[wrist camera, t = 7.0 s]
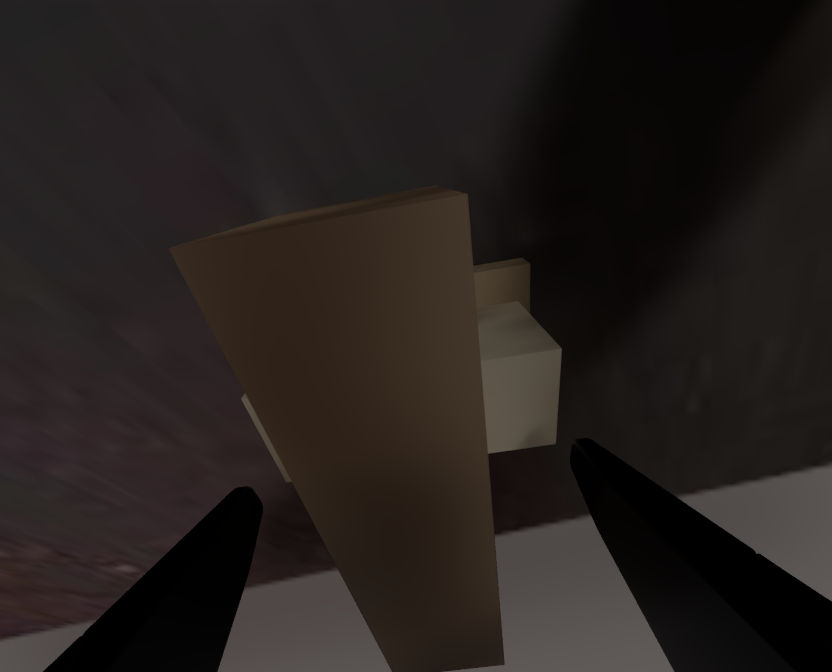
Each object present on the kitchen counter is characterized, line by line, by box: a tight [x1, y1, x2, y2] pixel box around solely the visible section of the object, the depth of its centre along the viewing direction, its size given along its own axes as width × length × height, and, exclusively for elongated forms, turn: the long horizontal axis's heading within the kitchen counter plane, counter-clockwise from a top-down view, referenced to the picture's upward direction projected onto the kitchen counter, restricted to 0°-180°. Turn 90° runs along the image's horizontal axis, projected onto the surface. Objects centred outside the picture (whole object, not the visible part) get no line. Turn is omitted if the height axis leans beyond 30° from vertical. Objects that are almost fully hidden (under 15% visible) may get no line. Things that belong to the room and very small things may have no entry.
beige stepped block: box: [241, 258, 562, 482], centre depth 13 cm, size 11×7×5 cm, turn 99°
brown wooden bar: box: [168, 186, 504, 672], centre depth 9 cm, size 4×14×4 cm, turn 9°
